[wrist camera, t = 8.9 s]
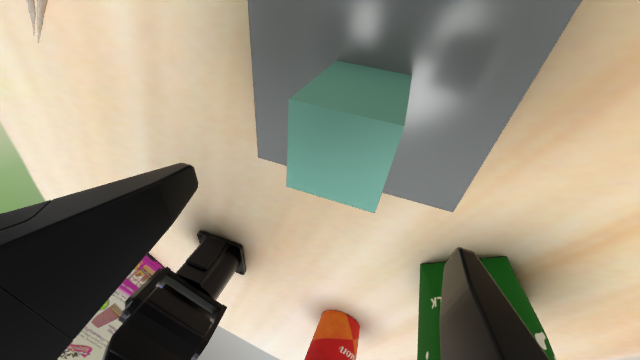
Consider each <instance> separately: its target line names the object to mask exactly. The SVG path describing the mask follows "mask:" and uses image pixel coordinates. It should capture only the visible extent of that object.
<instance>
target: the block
mask: <svg viewBox="0 0 640 360" xmlns="http://www.w3.org/2000/svg"><path fill="white" fill-rule="evenodd" d="M411 80H412V75H407V74H402V73H397V72H392V71H387V70H381V69H376V68H371V67H366V66H361V65H356V64H351V63H346V62H341V61H335V62H334V63H333V64H332V65H330V66H329V67H328V68H327V69H325V70H324V71H323V72H322V73H320V74H319V75H318V76H317V77H316V78H314V79H313V80H312V81H311V82H309V83H308V84H307V85H306V86H304V87H303V88H302V89H301V90H299V91H298V92H297V93H296V94H295V95H293V96H292V97H291V98H290V99H289V108H288V146H287V184H286V186H287V187H290V188H293V189H296V190H300V191H303V192H306V193H310V194H313V195H316V196H319V197H323V198H326V199H329V200H333V201H336V202H339V203H343V204H346V205H349V206H352V207H356V208H359V209H362V210H366V211H369V212H372V213H375V211H376V208H377V205H378V202H379V199H380V196H381V193H382V191H383V188H384V185H385V182H386V179H387V176H388V173H389V170H390V167H391V164H392V161H393V159H394V156H395V153H396V150H397V147H398V144H399V141H400V138H401V135H402V132H403V129H404V126H405V120H406V113H407V107H408V100H409V94H410V87H411Z"/></svg>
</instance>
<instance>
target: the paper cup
mask: <svg viewBox="0 0 640 360" xmlns="http://www.w3.org/2000/svg"><path fill="white" fill-rule="evenodd" d="M358 338H359V324H358V322H357V321H356V320H355V319H354V318H352V317H351V316H349V315H347V314H345V313H343V312H339V311H334V310H328V311H325V312H324V313H323V314H322V316H321V319H320V321H319V324H318V326H317V329H316V331H315V334H314V336H313V339H312V341H311V344H310V347H309V349H308V352H307V355H306V357H305V360H356V354H357V347H358Z"/></svg>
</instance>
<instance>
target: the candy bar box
mask: <svg viewBox="0 0 640 360" xmlns="http://www.w3.org/2000/svg"><path fill="white" fill-rule="evenodd" d="M159 268H160V269H165V268H164V267H163V266H162V265H161V264H159V263H158V262H157V261H156V260H155V259H154V258H153V257H151V256H150V255H149V254H148V253H147V255H146V256H145V257H144V258H143V259H142V260H141V262H140V263H139V264H138V265H137V266H136V268H135V269H134V270H133V271H132V272H131V273H130V275H129V276H128V277H127V278H126V279H125V280H124V282H123V283H122V284H121V285H120V286H119V287H118V289H117V290H116V291H115V292H114V293H113V294H112V296H111V297H110V298H109V299H108V300H107V301H106V303H105V304H104V305H103V306H102V307H101V309H100V310H99V311H98V312H97V313H96V314H95V316H94V317H93V318H92V319H91V320H90V321H89V323H88V324H87V325H86V326H85V327H84V328H83V330H82V331H81V332H80V333H79V334H78V335H77V337H76V338H75V339H73V342H72V343H71V344H70V345H69V346H68V347H67V349H66V350H65V351H64V352H63V353H62V355H61V356H60V357H59V358H58V359H57V360H102V358H103V355H104V352H105V348H106V346H107V344H108V342H109V341H110V339H111V337H112V335H113V334H114V333H115V332H116V331H117V329H118V328H119V327H120V326H121V325H122V324H123V323H121V322H120V321H118V319H119V317H120V316H121V315H122V314H123V313H122V312H123V310H124V309H125V301H126V300H127V299H128V298H129V297H130V296H131V295H132V294H133V293H134V292H135V291H136V290H137V289H138V288H140V287H141V286H142V285H143V284H144V283H145V282H146V281H147V280H148V279H149V278H150V277H151V276H152V275H153V274H154V273H155V272H156V271H157V270H158V269H159ZM158 287H160V288H162V286H161V285H159V286H158Z"/></svg>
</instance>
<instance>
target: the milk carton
mask: <svg viewBox="0 0 640 360" xmlns="http://www.w3.org/2000/svg"><path fill="white" fill-rule="evenodd" d="M479 260H480V261H481V263H482V264H483V265H484V267H485V268H486V270H487V271H488V273H489V274H490V275H491V277H492V278H493V280H494V281H495V283H496V284H497V285H498V287H499V288H500V290H501V291H502V292H503V294H504V295H505V297H506V298H507V300H508V301H509V302H510V304H511V305H512V307H513V308H514V310H515V311H516V312H517V314H518V315H519V317H520V318H521V319H522V321H523V322H524V324H525V325H526V327H527V328H528V329H529V331H530V332H531V334H532V335H533V337H534V338H535V339H536V341H537V342H538V344H539V345H540V346H541V348H542V349H543V351H544V352H545V354H546V355H547V356H548V358H549V359H550V360H556V358H555V355H554V353H553V350H552V348H551V346H550V343H549V341H548V338H547V336H546V334H545V332H544V330H543V328H542V326H541V324H540V322H539V320H538V318H537V316H536V314H535V312H534V310H533V308H532V306H531V304H530V302H529V300H528V298H527V296H526V295H525V293H524V291H523V289H522V287H521V285H520V283H519V281H518V279H517V277H516V275H515V273H514V271H513V269H512V267H511V265H510V263H509V261H508V259H507V257H495V258H484V259H479ZM445 264H446V262H441V263H430V264H420V292H419V321H418V358H417V360H441V350H440V308H441V297H442V285H443V274H444V267H445Z"/></svg>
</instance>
